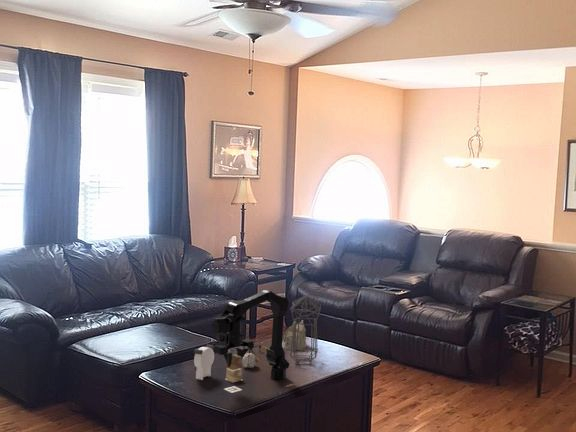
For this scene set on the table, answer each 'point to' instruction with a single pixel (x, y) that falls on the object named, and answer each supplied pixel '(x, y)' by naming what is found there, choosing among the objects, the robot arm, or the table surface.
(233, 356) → the walnut block
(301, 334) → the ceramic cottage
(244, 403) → the table surface
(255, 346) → the eyeglasses
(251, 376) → the table surface
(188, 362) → the table surface
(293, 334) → the geometric lantern
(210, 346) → the white rounded piece
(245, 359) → the game die
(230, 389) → the board
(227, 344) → the robot arm
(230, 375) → the oak block
